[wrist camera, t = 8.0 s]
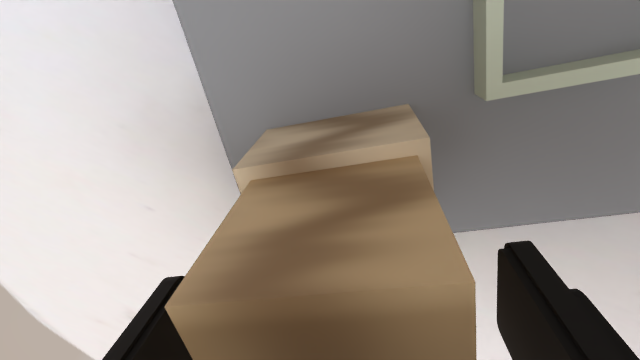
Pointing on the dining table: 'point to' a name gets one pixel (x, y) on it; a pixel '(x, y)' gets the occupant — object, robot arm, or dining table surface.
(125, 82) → the dining table surface
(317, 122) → the brown rectangular block
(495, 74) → the socket
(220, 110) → the board
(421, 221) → the cube
